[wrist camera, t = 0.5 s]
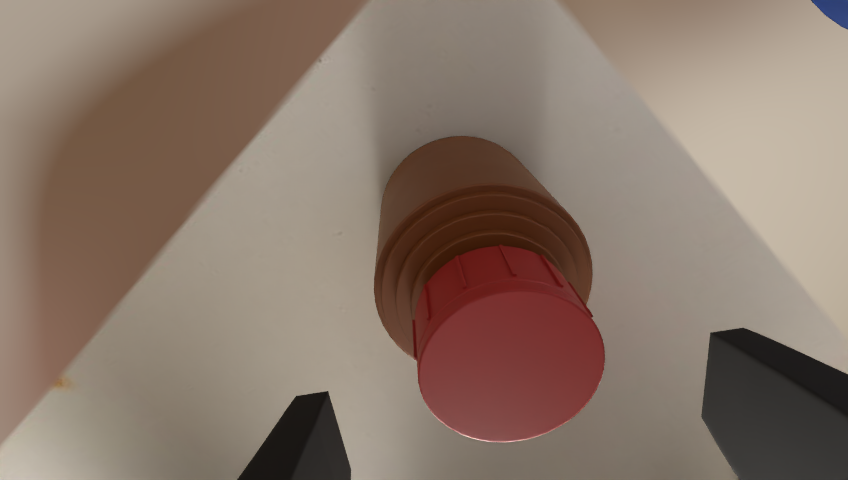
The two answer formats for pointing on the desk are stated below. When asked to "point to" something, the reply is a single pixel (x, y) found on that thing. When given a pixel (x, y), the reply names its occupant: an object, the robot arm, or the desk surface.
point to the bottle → (464, 223)
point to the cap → (504, 345)
